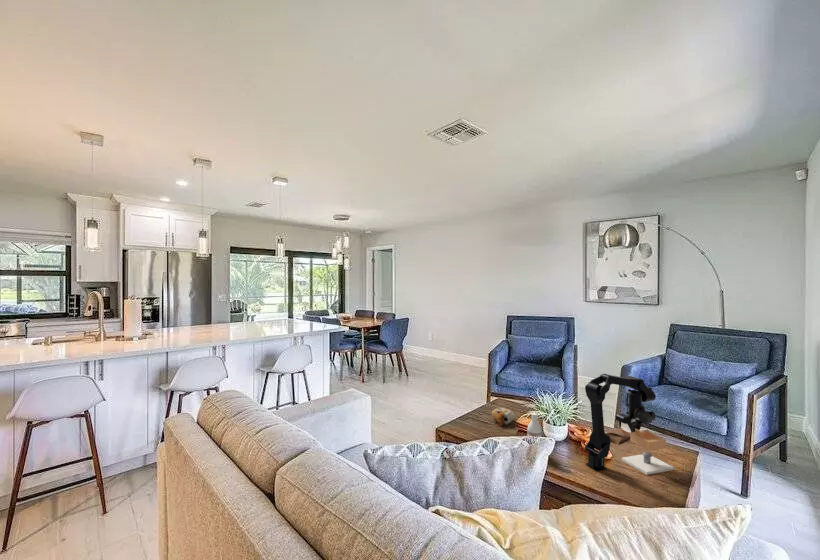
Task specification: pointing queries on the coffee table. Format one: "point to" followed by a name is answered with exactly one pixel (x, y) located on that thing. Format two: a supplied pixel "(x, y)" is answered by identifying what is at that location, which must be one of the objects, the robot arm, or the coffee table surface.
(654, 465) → the board
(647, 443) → the orange link
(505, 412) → the nautilus
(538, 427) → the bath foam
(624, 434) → the sunglasses case
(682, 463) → the coffee table surface
